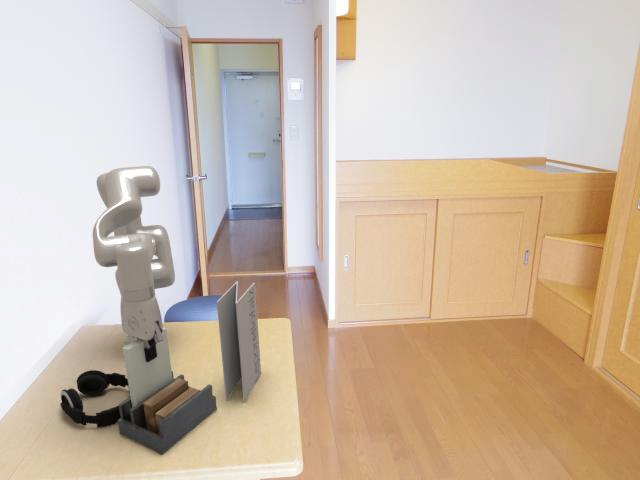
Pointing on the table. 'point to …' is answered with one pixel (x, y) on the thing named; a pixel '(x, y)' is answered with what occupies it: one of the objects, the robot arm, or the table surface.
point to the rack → (166, 419)
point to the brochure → (239, 339)
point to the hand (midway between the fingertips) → (148, 357)
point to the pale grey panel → (146, 369)
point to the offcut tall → (162, 402)
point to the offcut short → (174, 405)
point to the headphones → (92, 386)
